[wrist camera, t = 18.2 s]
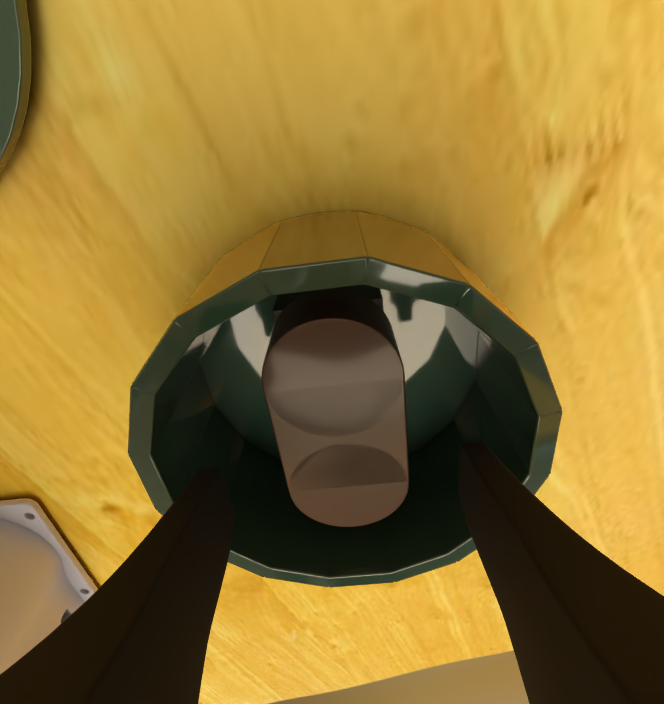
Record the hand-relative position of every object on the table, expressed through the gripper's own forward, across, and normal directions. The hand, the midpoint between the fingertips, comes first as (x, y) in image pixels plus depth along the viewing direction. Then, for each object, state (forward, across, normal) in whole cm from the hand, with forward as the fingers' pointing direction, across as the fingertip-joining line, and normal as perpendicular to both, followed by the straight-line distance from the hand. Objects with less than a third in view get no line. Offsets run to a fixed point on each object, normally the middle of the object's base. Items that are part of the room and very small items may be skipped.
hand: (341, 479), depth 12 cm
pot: (+6, 0, 0) cm, 7 cm away
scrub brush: (+6, 0, 0) cm, 6 cm away
